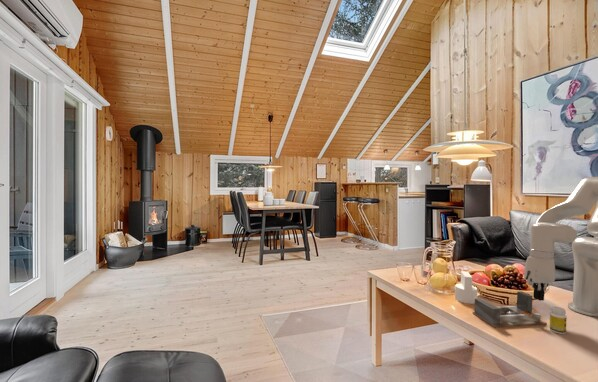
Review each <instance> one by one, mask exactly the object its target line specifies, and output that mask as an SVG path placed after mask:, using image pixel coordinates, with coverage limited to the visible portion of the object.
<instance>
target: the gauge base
mask: <svg viewBox="0 0 598 382" xmlns="http://www.w3.org/2000/svg"><path fill="white" fill-rule="evenodd" d="M508 307H517V305H502V306H501V305H500V306H499V305H498V306H496V305H494V304H492V303H491V302H488V301H487V300H485V299H483V298H477V299H475V303H474V310H473V311H472V314H473V315H474V316H476V317H478V319H481V320H483V321H484V322H486V323H487V324H489V325H490V326H492V327H493V328H502V327H503V328H510V327H524V326H525V327H527V326H543V325H547V322H546V321H544V320H542V319H541V318H542V315H541V314H540V313H538V312H537V313H534V312H532V313H533V314H531V315H532V316H531V317H530V316H528V315H526V314H514V315H507V314H506V312H507V308H508Z"/></svg>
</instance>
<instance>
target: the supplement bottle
mask: <svg viewBox="0 0 598 382" xmlns="http://www.w3.org/2000/svg"><path fill="white" fill-rule="evenodd" d="M550 309H551V310H550V312H549V323H548V324H549V325H548V327H549V330H550V331H551V332H552V333H556V334H560V335H565V334H566V333H567V320H568V319H567V315H566V309H564V308H562V307H559V306H551V308H550Z"/></svg>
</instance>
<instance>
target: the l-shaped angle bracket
mask: <svg viewBox="0 0 598 382" xmlns="http://www.w3.org/2000/svg"><path fill="white" fill-rule="evenodd" d="M516 295H517V296H516V306H517V307H508V308H507V312H506V314H507V315H514V314H526V315H528V316H530V317H531V316H532V315H531V314H533V313H534V312H533V295H531V294H529V293H527V292H524V291H517V293H516Z"/></svg>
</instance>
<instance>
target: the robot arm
mask: <svg viewBox="0 0 598 382" xmlns="http://www.w3.org/2000/svg"><path fill="white" fill-rule="evenodd" d="M595 205H596V206H595ZM594 206H595V209H594V211H593V212H592V215H591V217H590V219H589V220H588V223H587V225H586V232H587V234H589V235H591V236H580V237H579V236H578V233H577V230H576V228H574V227H573V226H571V225H568V224H565V223H564V224H562V223H558V222H561V221H563V220H566V219H570V218H576V217H577V218H578V217H581V216H585V215H587V214H589V213H590V212H591V210H592V209H593V207H594ZM529 241H530V242H529V256H527V258H526V260H525V265H524V272H523V279H524V280H525V281H526V285H529V286H531V287H532V289H533V295H532V298H533V299H535V300H536V301H545V292H546V291H547V288H548V287H551V286H553V284H554V282H555V280H556V265H555V259H554V255H555V251H554V250H555V243H558V244H559V243H560V244H570V243H571V251H572V256H573V265H574V266H573V287H572V288H573V289H572V291H573V292H572V301H571V302H568V304H567V307H568V308H569V309H570V310H571V311H574V312H575V313H579V314H581V315H586V316H590V317H596V318H598V176H589V177H585V178H583V179H581V180H580V181H579V182H578V183H577V185H576V186H575V188H574V189H573V190H572V191H571V193H570V194H569V196H568V197H567V198H566V200H564V201H563V202H561V203H559V204H557V205H555V206H553V207H550V208H549V209H547V210H545V211H544V212H543V213H542V214H541V215H540V216H539V217H538V219H537V220H536V222H535V223H533V224H531V227H530V239H529Z"/></svg>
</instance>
